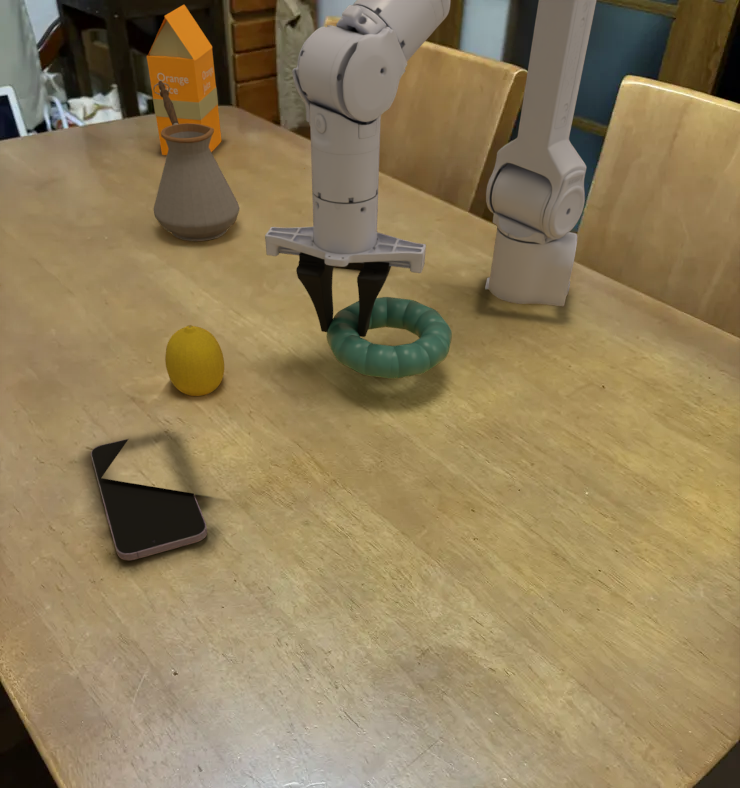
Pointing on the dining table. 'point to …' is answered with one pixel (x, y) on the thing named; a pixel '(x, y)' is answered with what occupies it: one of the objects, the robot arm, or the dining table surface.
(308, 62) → the robot arm
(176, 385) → the lemon
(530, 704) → the dining table surface
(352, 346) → the hoop
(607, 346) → the dining table surface
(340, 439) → the dining table surface
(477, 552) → the dining table surface
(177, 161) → the coffee pot
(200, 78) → the orange juice
